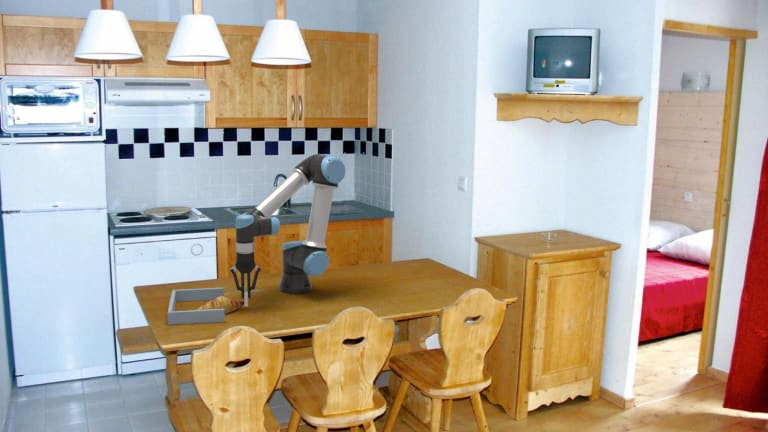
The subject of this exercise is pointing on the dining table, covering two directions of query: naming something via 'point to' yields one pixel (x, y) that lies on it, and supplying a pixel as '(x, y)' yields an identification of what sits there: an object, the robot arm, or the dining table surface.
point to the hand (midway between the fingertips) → (246, 305)
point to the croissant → (223, 304)
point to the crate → (195, 315)
